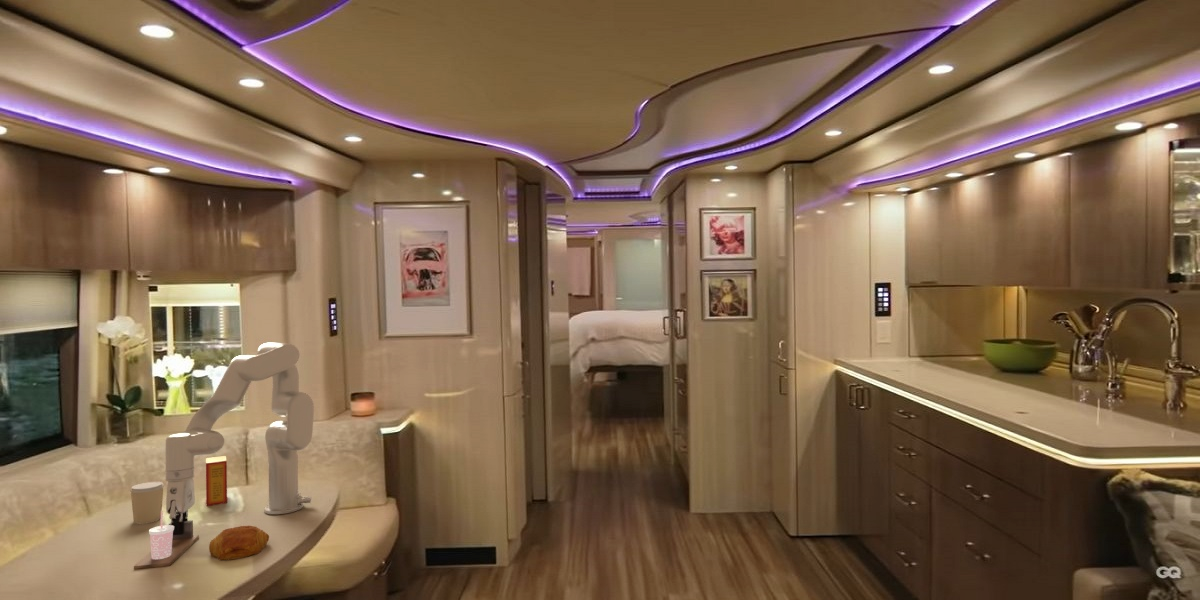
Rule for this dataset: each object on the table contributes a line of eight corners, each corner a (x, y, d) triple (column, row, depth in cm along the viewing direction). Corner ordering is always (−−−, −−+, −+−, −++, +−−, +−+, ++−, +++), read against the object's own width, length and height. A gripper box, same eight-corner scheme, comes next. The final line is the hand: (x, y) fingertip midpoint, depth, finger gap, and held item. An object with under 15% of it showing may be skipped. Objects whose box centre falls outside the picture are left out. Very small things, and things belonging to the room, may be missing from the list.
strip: (198, 537, 204) (198, 519, 204) (170, 565, 183) (169, 545, 183) (166, 540, 202) (166, 521, 202) (133, 569, 181) (133, 548, 181)
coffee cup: (170, 515, 225) (170, 481, 225) (149, 525, 216) (148, 489, 216) (145, 515, 226) (145, 481, 226) (123, 524, 217) (123, 488, 217)
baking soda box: (206, 499, 244) (205, 457, 244) (226, 496, 247) (225, 454, 247) (206, 506, 236) (205, 462, 236) (227, 502, 239) (226, 459, 239)
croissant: (215, 554, 197) (211, 528, 197) (272, 539, 202) (267, 514, 202) (204, 571, 183) (200, 543, 183) (265, 555, 189) (260, 528, 188)
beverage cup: (143, 562, 185) (143, 513, 185) (161, 554, 191) (161, 507, 191) (161, 564, 184) (161, 514, 184) (179, 556, 190) (179, 508, 190)
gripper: (183, 479, 195) (183, 541, 195) (202, 467, 210) (202, 523, 210) (155, 481, 193) (154, 543, 193) (176, 468, 209) (176, 525, 208)
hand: (179, 532), depth 202 cm, fingers closed
